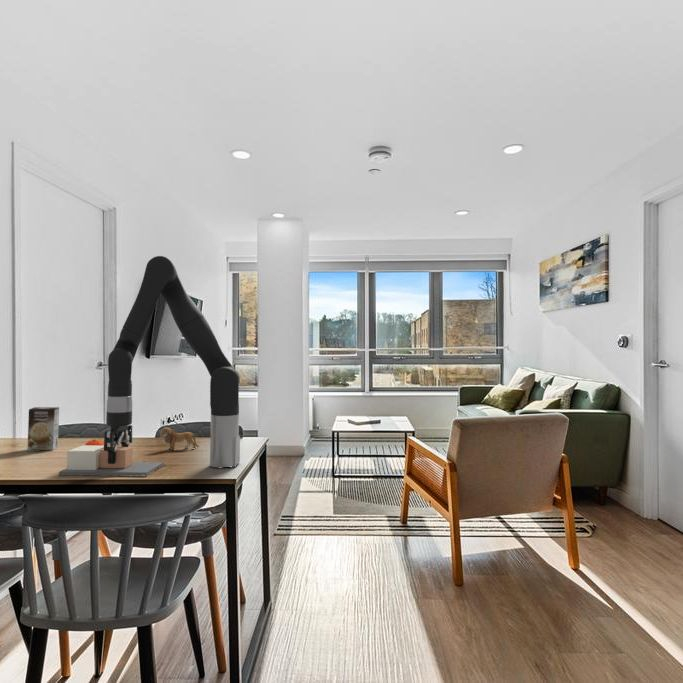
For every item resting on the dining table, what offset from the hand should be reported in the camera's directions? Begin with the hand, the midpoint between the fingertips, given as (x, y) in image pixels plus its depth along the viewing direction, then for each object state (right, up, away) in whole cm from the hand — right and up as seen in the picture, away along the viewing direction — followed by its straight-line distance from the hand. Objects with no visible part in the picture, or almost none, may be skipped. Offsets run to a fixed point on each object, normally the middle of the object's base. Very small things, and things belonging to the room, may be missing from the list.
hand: (118, 460), depth 153 cm
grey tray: (-1, -3, 0) cm, 3 cm away
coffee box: (-44, -4, +31) cm, 54 cm away
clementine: (-16, -4, +16) cm, 23 cm away
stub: (-1, -2, 0) cm, 2 cm away
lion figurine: (+8, -4, +33) cm, 34 cm away
